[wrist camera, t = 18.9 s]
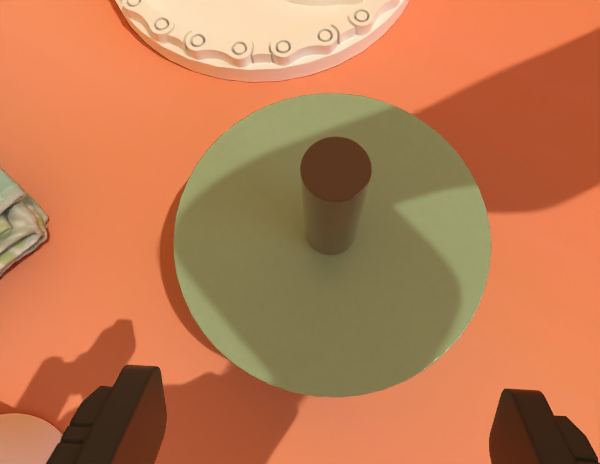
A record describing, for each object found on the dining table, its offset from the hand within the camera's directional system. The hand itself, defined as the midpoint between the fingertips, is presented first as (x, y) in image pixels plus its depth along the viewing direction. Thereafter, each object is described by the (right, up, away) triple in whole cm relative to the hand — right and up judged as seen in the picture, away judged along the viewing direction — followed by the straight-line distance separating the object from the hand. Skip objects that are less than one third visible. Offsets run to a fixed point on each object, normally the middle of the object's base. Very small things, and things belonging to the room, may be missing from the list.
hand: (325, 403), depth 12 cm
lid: (+1, +4, +12) cm, 13 cm away
